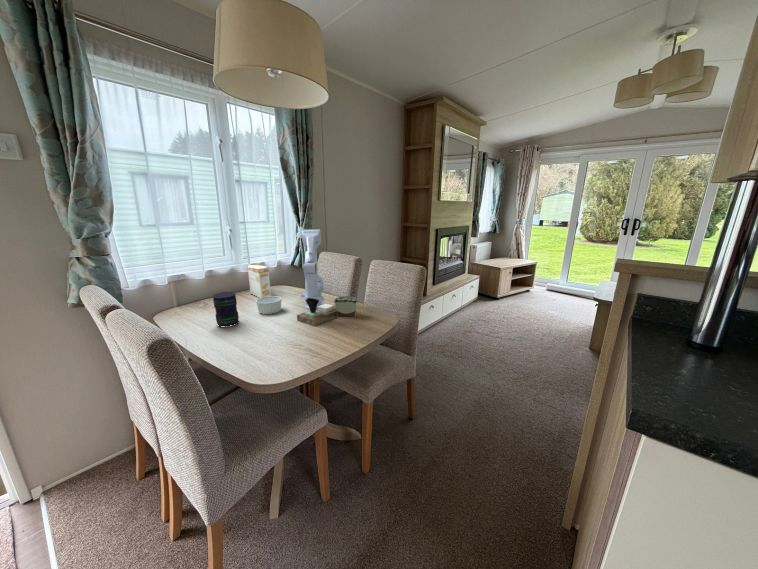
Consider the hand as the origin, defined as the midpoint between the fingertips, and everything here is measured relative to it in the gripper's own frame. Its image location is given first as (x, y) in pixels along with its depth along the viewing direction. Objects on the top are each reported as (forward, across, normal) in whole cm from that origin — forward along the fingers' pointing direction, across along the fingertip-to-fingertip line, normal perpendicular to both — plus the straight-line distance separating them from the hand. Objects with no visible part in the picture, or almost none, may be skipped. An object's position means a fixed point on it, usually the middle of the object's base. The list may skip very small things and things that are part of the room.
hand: (313, 312), depth 147 cm
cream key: (+2, 0, +9) cm, 9 cm away
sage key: (+2, 0, 0) cm, 2 cm away
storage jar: (+4, -31, -28) cm, 42 cm away
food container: (+4, +10, +14) cm, 18 cm away
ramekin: (+4, -30, -4) cm, 31 cm away
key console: (+4, 0, +4) cm, 6 cm away
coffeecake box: (+4, -61, +10) cm, 62 cm away
